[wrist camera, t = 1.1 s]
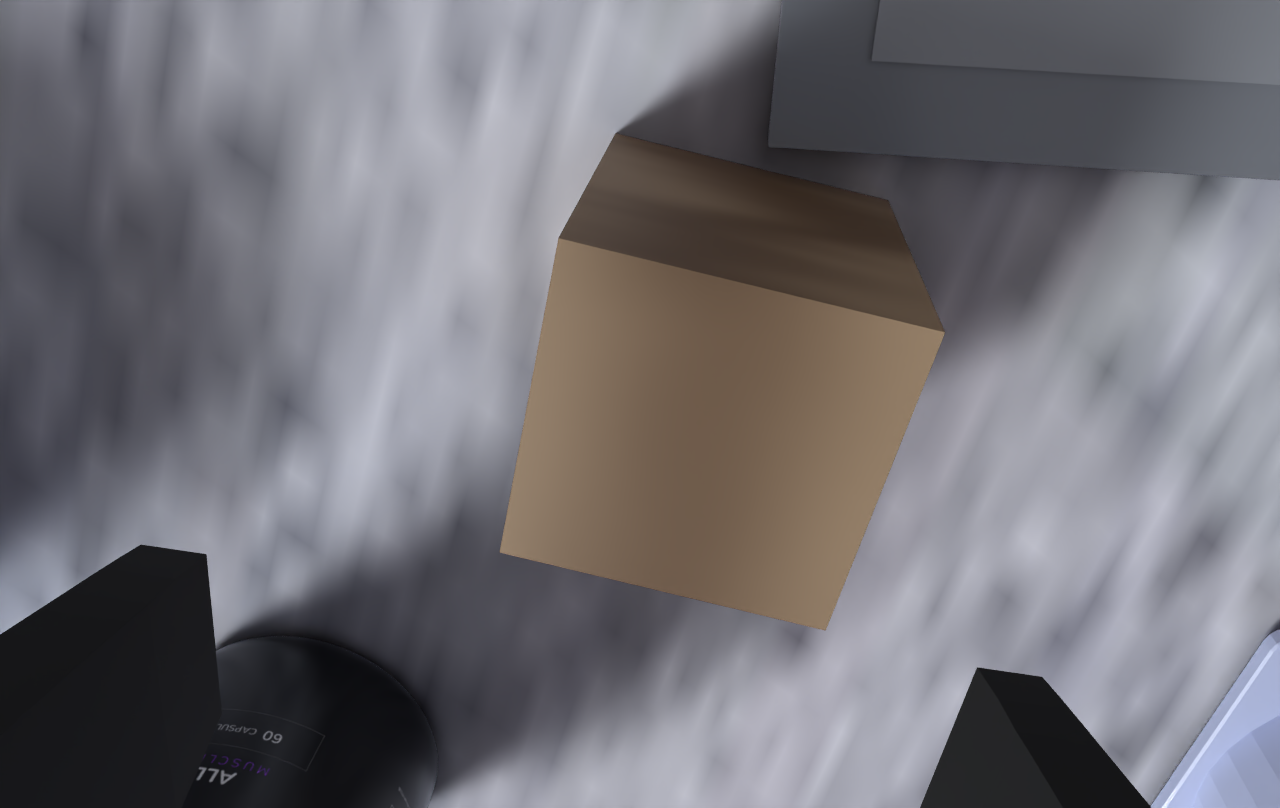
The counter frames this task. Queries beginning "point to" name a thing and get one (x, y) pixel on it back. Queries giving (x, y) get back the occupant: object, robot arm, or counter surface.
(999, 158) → the coaster
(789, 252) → the block
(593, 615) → the counter surface
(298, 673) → the supplement bottle
